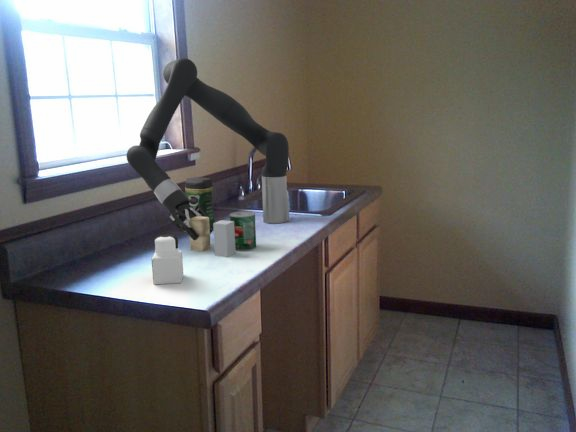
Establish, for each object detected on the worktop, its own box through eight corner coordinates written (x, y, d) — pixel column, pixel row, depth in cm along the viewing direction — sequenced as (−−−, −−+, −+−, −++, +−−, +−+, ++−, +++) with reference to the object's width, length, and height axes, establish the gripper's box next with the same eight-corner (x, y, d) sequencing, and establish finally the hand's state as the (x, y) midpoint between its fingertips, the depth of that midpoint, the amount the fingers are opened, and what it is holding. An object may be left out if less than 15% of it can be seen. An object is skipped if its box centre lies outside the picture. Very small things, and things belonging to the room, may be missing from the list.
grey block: (223, 251, 179) (221, 220, 177) (235, 253, 177) (234, 221, 175) (214, 255, 175) (213, 223, 173) (227, 257, 173) (225, 224, 171)
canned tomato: (261, 246, 184) (259, 212, 182) (247, 252, 178) (246, 217, 175) (240, 243, 188) (238, 210, 186) (226, 249, 181) (224, 215, 179)
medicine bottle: (157, 276, 157) (153, 233, 154) (183, 274, 158) (180, 232, 155) (153, 284, 150) (149, 240, 147) (181, 283, 151) (178, 238, 148)
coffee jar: (218, 227, 211) (216, 176, 207) (205, 231, 205) (202, 179, 201) (197, 224, 216) (194, 175, 212) (184, 229, 209) (180, 178, 205)
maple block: (199, 246, 186) (197, 216, 184) (210, 247, 184) (208, 217, 182) (190, 250, 182) (188, 219, 180) (202, 251, 180) (200, 220, 178)
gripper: (163, 192, 176) (196, 233, 173) (191, 185, 188) (223, 223, 185) (150, 208, 179) (183, 249, 177) (179, 200, 192) (210, 237, 189)
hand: (204, 235), depth 181 cm, fingers open, 7 cm apart
